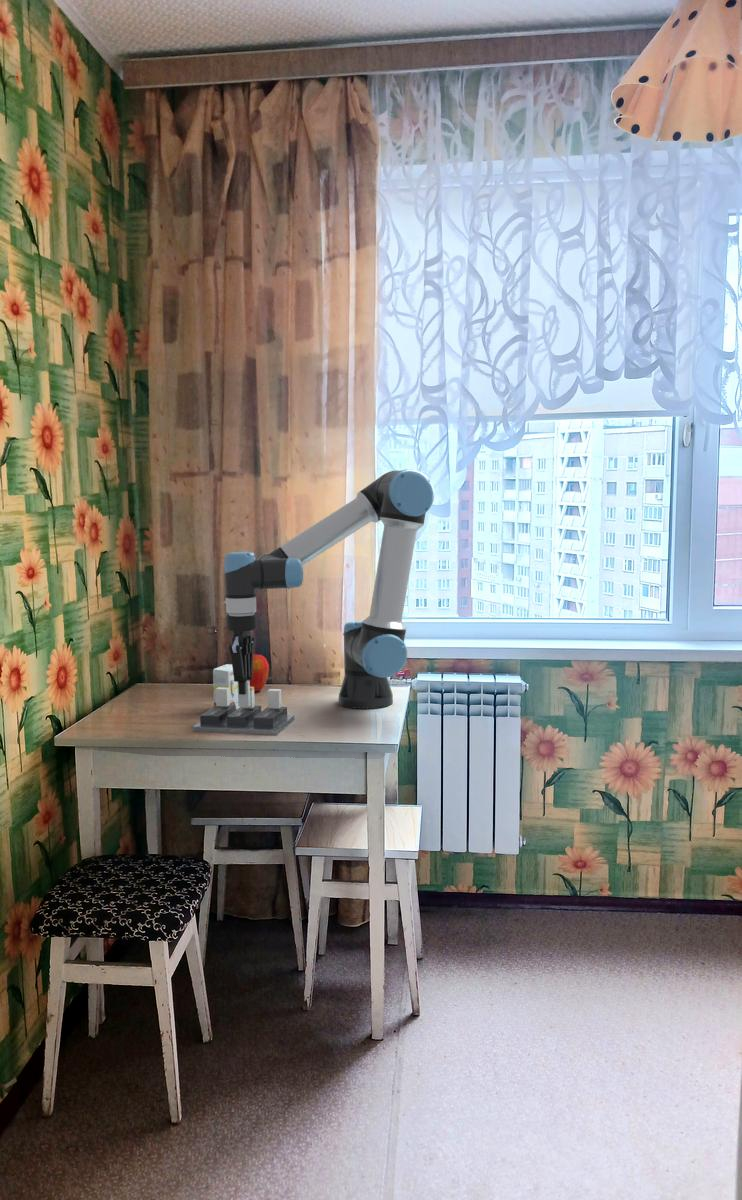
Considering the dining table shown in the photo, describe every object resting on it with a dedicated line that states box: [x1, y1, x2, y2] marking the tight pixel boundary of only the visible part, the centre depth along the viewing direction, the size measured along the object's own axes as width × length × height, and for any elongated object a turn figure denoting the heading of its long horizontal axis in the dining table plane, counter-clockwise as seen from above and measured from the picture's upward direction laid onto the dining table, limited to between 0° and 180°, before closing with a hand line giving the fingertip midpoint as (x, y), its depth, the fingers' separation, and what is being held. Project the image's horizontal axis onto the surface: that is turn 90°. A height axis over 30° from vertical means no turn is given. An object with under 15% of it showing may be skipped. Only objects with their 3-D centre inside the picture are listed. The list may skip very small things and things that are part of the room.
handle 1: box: [216, 687, 230, 706], centre depth 237 cm, size 3×2×4 cm, turn 78°
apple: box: [250, 653, 270, 693], centre depth 270 cm, size 9×9×12 cm
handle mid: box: [241, 687, 256, 708], centre depth 234 cm, size 3×2×5 cm, turn 78°
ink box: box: [212, 663, 240, 710], centre depth 248 cm, size 9×5×12 cm, turn 161°
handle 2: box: [267, 688, 283, 708], centre depth 234 cm, size 3×2×4 cm, turn 78°
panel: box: [191, 705, 296, 736], centre depth 232 cm, size 22×15×4 cm
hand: (244, 705), depth 232 cm, fingers closed
